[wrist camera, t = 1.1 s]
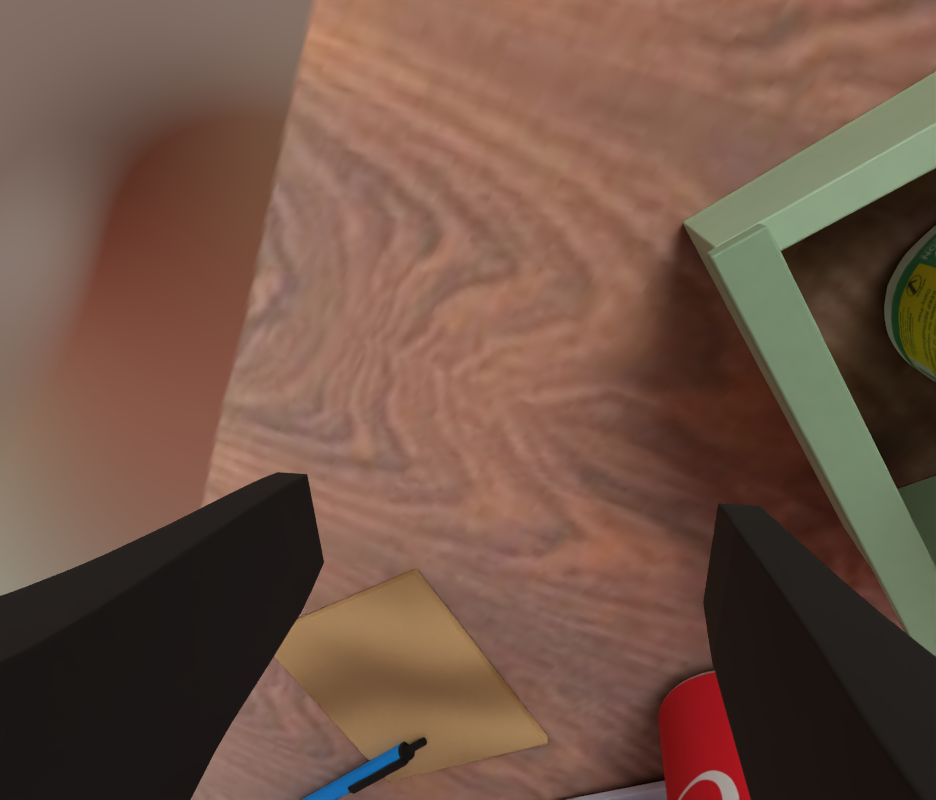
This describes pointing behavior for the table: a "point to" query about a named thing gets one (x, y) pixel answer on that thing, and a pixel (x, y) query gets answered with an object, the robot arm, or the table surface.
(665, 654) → the table surface
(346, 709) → the cork mat
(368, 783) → the pen
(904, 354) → the supplement bottle
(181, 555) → the robot arm
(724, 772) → the beverage can
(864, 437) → the tub
